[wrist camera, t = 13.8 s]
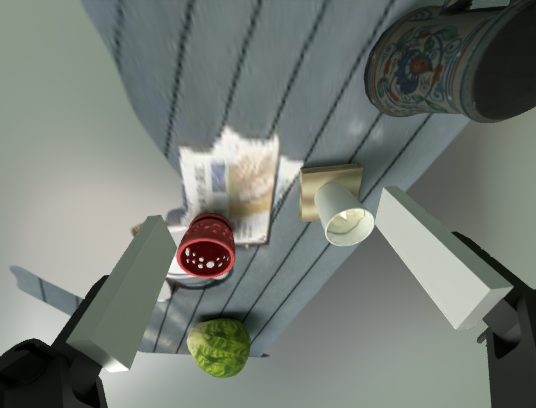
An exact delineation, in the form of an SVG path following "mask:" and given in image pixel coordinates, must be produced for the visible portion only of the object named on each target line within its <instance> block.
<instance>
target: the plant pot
mask: <svg viewBox="0 0 536 408" xmlns="http://www.w3.org/2000/svg"><path fill="white" fill-rule="evenodd" d="M186 248H188V250H189V256H187V255H186V253H185V251H186ZM193 253H194V254H195V256H193ZM224 256H225V258H224V259H223V257H224ZM199 258H203V259H204V261H203V262H200V261H199ZM217 258H220V259H219V260H218V261H217ZM228 258H229V259H228ZM227 259H228V261H227ZM187 260H188V261H189V262H188V263H187ZM192 261H195V264H194V263H193V262H192ZM177 262H178V264H179V266H180V267H181V269H183V270H184V271H185V272H187V273H188V274H190V275H193V276H196V277H200V278H213V277H217V276H221V275H223V274H225V273H226V272H228V271H229V270H230V269H231V268H232V266H233V265H234V262H235V243H234V238H233V229H232V226H231V224H230V223H229V221H228V220H226V219H225V218H224V217H222V216H220V215H216V214H204V215H200V216H198V217H196V218H195V219H194V220H193V221H192V222H191V224H190V226H189V229H188V231H187V232H186V233H185V235H184V236H183V238H182V240H181V243H180V245H179V248H178V252H177ZM208 262H213V263H214V266H213V267H212V268H208V267H207V266H206V264H207V263H208ZM221 263H222V265H221V266H220V267H218V266H219V264H221ZM198 265H202V266H203V268H199V267H198Z"/></svg>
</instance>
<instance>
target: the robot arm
mask: <svg viewBox="0 0 536 408" xmlns="http://www.w3.org/2000/svg"><path fill="white" fill-rule="evenodd" d="M375 225H376V226H377V227H378V229H379V230H380V231H381V232H382V234H383V235H384V236H385V238H386V239H387V240H388V242H389V243H390V244H391V246H392V247H393V248H394V250H395V251H396V252H397V253H398V255H399V256H400V257H401V259H402V260H403V261H404V263H405V264H406V265H407V267H408V268H409V269H410V271H411V272H412V273H413V274H414V276H415V277H416V278H417V280H418V281H419V282H420V284H421V285H422V286H423V287H424V289H425V290H426V291H427V293H428V294H429V295H430V297H431V298H432V299H433V301H434V302H435V303H436V305H437V306H438V307H439V309H440V310H441V311H442V312H443V313H444V315H445V316H446V318H447V319H448V320H449V321H450V323H451V324H452V326H453V327H454V328H455V329H456V330H458V329H466V328H474V327H476V326H477V325H478V324H479V322H480V321H481V320H483V321H484V322H485V323H486V324H487V325H488V326H489V327H488V328H487V329H486V330H485V331H484V332H483V333H482V334H481V335H480V336H479V337H478V339H477V342H478V343H482V342H483V341H484V340H485V339H486V340H487V345H486V347H487V353H488V367H489V380H490V393H491V405H492V406H491V407H492V408H536V289H534V290H533V289H532V288H530V287H529V286H528V285H526V284H525V283H524V282H523V281H521V280H520V279H519V278H518V277H517V276H515V275H514V274H513V273H512V272H510V271H509V270H508V269H507V268H505V267H504V266H503V265H502V264H501V263H499V262H498V261H497V260H496V259H494V258H493V257H490V255H489V254H488V253H487V252H486V251H484V250H483V249H481V247H480V246H478V245H477V244H476V243H475V242H473V241H472V240H471V239H470V238H468V237H466V236H464V235H462V234H460V233H458V232H450V231H449V230H447V229H446V228H445V227H444V226H443V225H441V224H440V223H439V222H438V221H437V220H436V219H435V218H433V217H432V216H431V215H430V214H429V213H428V212H426V211H425V210H424V209H423V208H422V207H421V206H419V205H418V204H417V203H416V202H415V201H414V200H412V199H411V198H410V197H409V196H407V194H405V193H404V192H403V191H402V190H401V189H400V188H398V187H397V186H391V187H383V191H382V195H381V199H380V203H379V207H378V211H377V215H376V219H375ZM176 249H177V246H176V244H175V242H174V240H173V238H172V236H171V234H170V232H169V230H168V228H167V226H166V224H165V222H164V220H163V218H162V216H161V215H156V216H148V217H147V219H146V220H145V222H144V223H143V225H142V226H141V228H140V229H139V231H138V232H137V234H136V235H135V237H134V239H133V240H132V242H131V243H130V245H129V246H128V248H127V249H126V251H125V252H124V254H123V255H122V257H121V259H120V260H119V261H118V263H117V264H116V266H115V268H114V269H113V271H112V272H111V274H110V275H105V276H103V277H102V278H101V279H100V280H99V281H97V282H96V283H95V284H94V285H93V286H92V288H91V289H90V291H89V292H88V293H87V295H86V296H85V299H83V301H82V302H81V303H80V305H79V306H78V307H79V308H78V309H76V311H75V312H74V313H73V315H72V316H71V318H70V319H69V321H68V322H67V324H66V325H65V327H64V328H63V330H62V331H61V332H60V334H59V335H58V337H57V338H56V339H55V341H54V342H53V344H52V345H51V346H49V345H47V344H46V343H44V342H42V341H41V340H38V339H34V338H33V339H29V340H25V341H23V342H21V343H19V344H17V345H15V346H13V347H12V348H11V349H9V350H8V351H6V352H5V353H4V354H3V355H2V356H0V408H108V406H107V403H106V398H105V393H104V388H103V384H102V380H101V379H100V377H99V376H98V375H99V373H100V371H101V369H102V367H103V368H105V369H106V370H108V371H109V372H119V371H126V370H130V368H131V365H132V363H133V360H134V358H135V355H136V353H137V350H138V347H139V345H140V342H141V340H142V337H143V335H144V332H145V329H146V327H147V324H148V322H149V319H150V317H151V314H152V311H153V309H154V306H155V304H156V301H157V299H158V296H159V293H160V291H161V288H162V286H163V283H164V281H165V278H166V275H167V273H168V270H169V268H170V265H171V263H172V260H173V257H174V255H175V252H176Z"/></svg>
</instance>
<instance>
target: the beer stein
mask: <svg viewBox="0 0 536 408" xmlns="http://www.w3.org/2000/svg"><path fill="white" fill-rule="evenodd" d="M472 1H473V0H446V1H445V2H444V4H443V6H428V7H423V8H419V9H417V10H414V11H412V12H410V13H409V14H407V15H405V16H404V17H402V18H401V19H400V20H398V21H397V22H396V23H395V24H394V25H392V26H391V27H390V28H389V29H388V30H386V31H385V32H384V33H383V34H382V35H381V37H380V38H379V40H378V41H377V43H376V44H375V46H374V47H373V49H372V50H371V52H370V54H369V58H368V61H367V64H366V67H365V73H364V83H365V91H366V94H367V96H368V98H369V100H370V102H371V104H373V105H374V106H375V107H376V108H377V109H379V110H380V111H381V112H383V113H384V114H386V115H389V116H393V117H408V116H412V115H415V114H419V113H449V114H463V115H464V116H466V117H468V118H470V119H471V120H474V121H476V122H480V123H495V122H500V121H503V120H506V119H509V118H512V117H515V116H517V115H520V114H522V113H524V112H526V111H528V110H530V109H532V108H534V107H535V106H536V0H510V4H509V5H508V6H499V7H489V8H478V9H471V10H469V8H470V6H471V5H472Z"/></svg>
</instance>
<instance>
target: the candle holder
mask: <svg viewBox="0 0 536 408" xmlns="http://www.w3.org/2000/svg"><path fill="white" fill-rule="evenodd" d="M314 203H315V206H316V209H317V212H318V215H319V218H320V220H321V223H322V226H323V229H324V231H325V235H326V238H327V239H328V241H329V242H331V243H332V244H334V245H337V246H350V245H354V244H356V243H359V242H361V241H362V240H364V239H365V238H366V237H367V236H368V235H369V234H370V233H371V231H372V230H373V227H374V223H375V221H374V217H373V215H372V213H371V212H370V211H368V210H367V209H366V208H365V207H364V206H363V205H362V204H361V203H360V201H359V200H358V199H357V198H356V197H355V196H354V195H353V194H352V193H351V192H350V191H349V190H348V189H347V188H346V187H345V186H344V185H342V184H340V183H328V184H325V185H323V186H322V187H321V188H319V190H318V191H317V192H316V194H315V197H314Z"/></svg>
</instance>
